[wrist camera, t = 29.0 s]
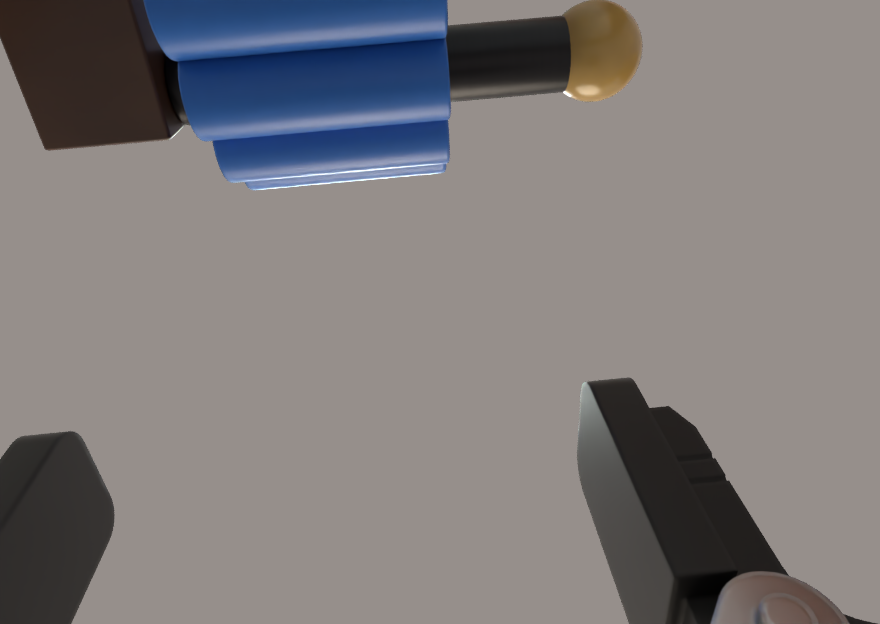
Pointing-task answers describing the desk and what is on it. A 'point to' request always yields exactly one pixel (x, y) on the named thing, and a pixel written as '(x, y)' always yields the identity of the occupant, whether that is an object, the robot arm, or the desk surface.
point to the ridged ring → (312, 86)
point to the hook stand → (156, 76)
